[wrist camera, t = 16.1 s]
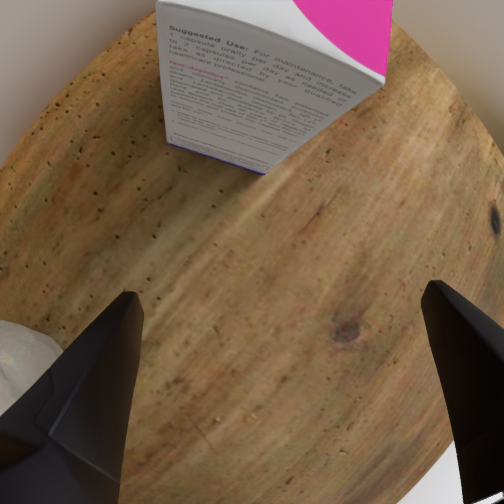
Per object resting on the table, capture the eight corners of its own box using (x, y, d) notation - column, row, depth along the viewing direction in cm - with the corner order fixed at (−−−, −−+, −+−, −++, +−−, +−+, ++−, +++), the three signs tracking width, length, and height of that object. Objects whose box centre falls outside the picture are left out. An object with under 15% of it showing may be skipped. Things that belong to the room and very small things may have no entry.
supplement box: (267, 178, 17) (389, 91, 6) (164, 145, 16) (135, 3, 5) (294, 92, 17) (400, -32, 6) (200, 60, 16) (226, -97, 5)
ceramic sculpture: (114, 470, 8) (42, 571, 7) (148, 364, 16) (70, 493, 16) (-101, 278, 6) (-92, 467, 5) (4, 256, 14) (-37, 413, 14)
